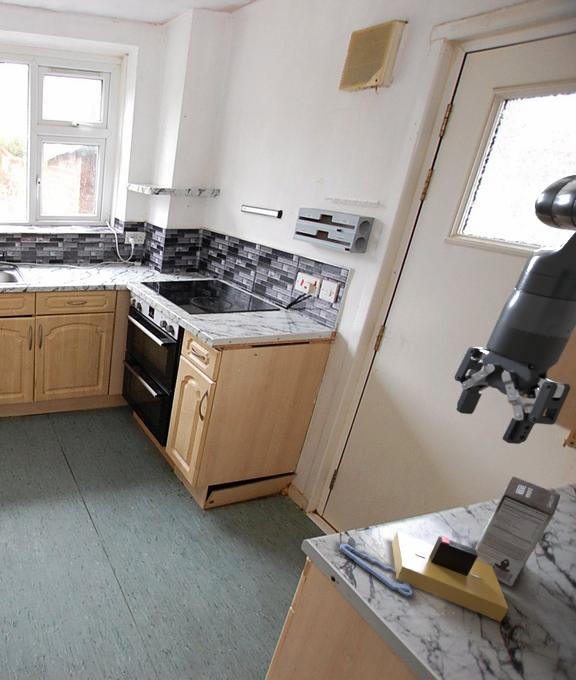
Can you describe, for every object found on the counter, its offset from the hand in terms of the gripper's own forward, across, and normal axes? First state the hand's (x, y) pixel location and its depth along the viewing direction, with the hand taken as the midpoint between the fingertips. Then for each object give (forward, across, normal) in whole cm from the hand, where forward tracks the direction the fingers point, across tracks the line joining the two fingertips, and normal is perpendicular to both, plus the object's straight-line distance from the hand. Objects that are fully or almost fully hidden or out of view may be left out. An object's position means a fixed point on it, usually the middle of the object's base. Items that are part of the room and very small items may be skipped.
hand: (486, 426), depth 69 cm
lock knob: (+27, 0, -5) cm, 28 cm away
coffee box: (+30, +5, -18) cm, 36 cm away
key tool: (+31, +1, +6) cm, 31 cm away
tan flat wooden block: (+30, 0, -4) cm, 31 cm away
